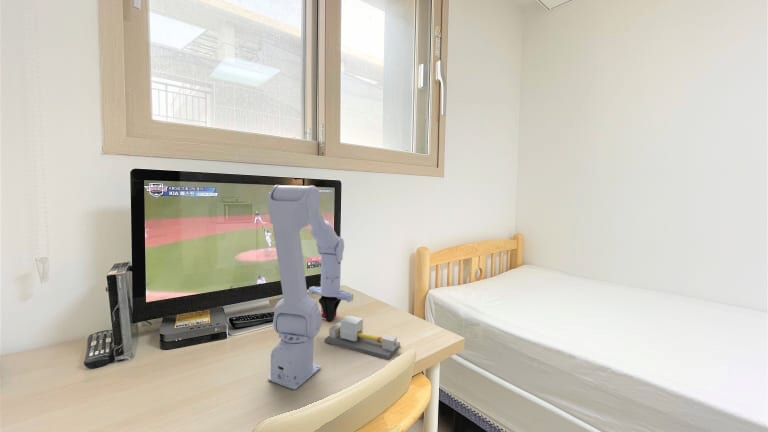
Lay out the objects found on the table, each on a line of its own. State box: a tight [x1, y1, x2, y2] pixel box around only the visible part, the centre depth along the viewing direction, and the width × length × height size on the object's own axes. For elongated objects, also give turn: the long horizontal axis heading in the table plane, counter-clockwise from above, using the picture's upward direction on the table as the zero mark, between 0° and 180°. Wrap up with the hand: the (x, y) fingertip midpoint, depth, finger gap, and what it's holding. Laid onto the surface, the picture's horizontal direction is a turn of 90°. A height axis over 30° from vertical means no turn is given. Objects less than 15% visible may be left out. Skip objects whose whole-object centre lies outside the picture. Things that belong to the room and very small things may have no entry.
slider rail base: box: [324, 321, 401, 361], centre depth 85 cm, size 8×21×4 cm, turn 66°
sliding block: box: [340, 315, 364, 342], centre depth 86 cm, size 4×5×5 cm
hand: (330, 320), depth 89 cm, fingers closed
